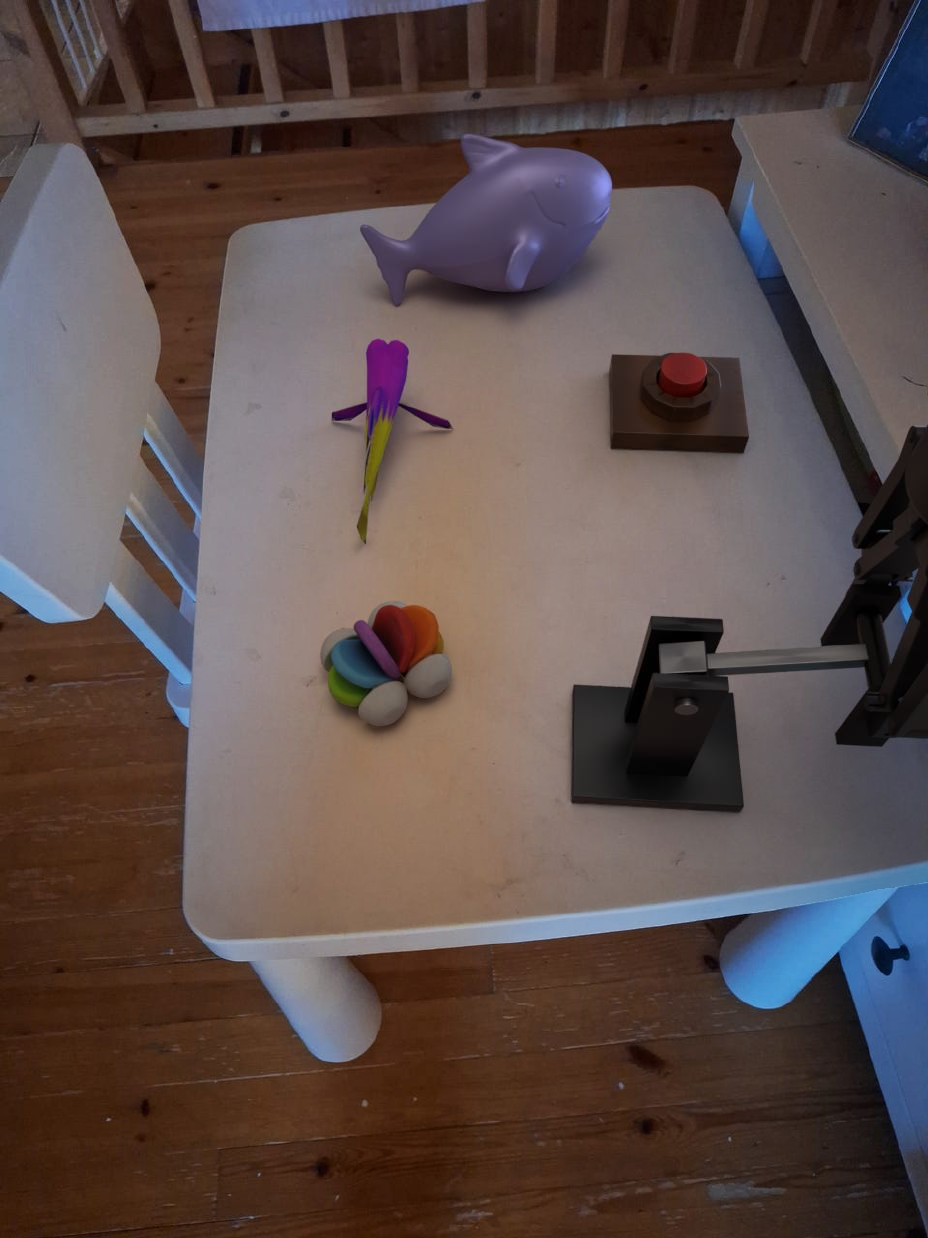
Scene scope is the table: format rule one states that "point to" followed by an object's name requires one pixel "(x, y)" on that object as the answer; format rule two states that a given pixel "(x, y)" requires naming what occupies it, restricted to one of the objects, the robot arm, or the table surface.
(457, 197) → the toy whale
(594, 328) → the table surface
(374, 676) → the fanned rainbow disc cluster
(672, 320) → the table surface
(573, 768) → the bracket
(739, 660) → the t-handle lever
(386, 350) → the toy
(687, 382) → the button
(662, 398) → the button block
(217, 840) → the table surface
